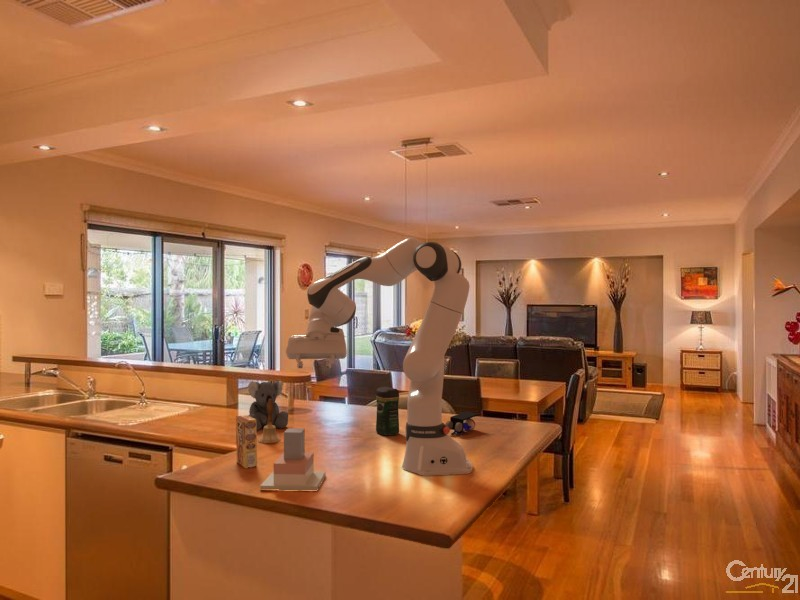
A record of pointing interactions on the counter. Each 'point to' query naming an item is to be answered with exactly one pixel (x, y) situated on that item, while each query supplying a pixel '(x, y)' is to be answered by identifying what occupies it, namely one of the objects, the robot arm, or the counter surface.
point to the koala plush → (259, 407)
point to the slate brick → (294, 444)
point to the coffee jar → (387, 411)
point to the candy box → (246, 441)
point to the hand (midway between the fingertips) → (314, 367)
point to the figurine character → (461, 422)
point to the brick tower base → (297, 487)
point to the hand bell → (269, 427)
